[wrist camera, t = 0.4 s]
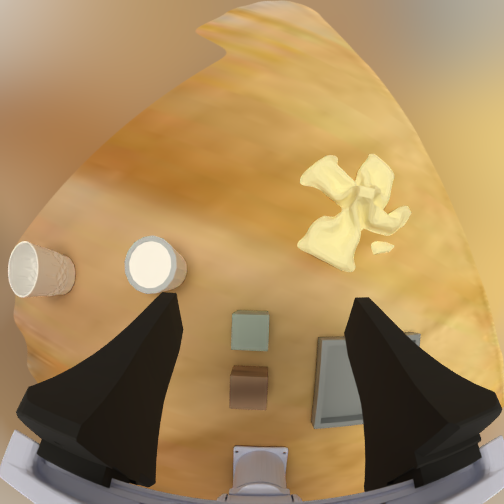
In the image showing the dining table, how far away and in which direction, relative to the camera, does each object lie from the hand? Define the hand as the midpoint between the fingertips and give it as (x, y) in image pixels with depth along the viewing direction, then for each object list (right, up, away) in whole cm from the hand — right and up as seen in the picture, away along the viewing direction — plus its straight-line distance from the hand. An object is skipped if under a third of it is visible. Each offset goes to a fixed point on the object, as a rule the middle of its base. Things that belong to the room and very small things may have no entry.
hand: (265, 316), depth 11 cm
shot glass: (-12, 0, +27) cm, 30 cm away
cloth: (+16, +9, +28) cm, 33 cm away
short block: (-1, -15, +24) cm, 29 cm away
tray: (+16, -16, +24) cm, 32 cm away
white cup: (-32, -1, +27) cm, 42 cm away
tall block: (-1, -7, +25) cm, 26 cm away
